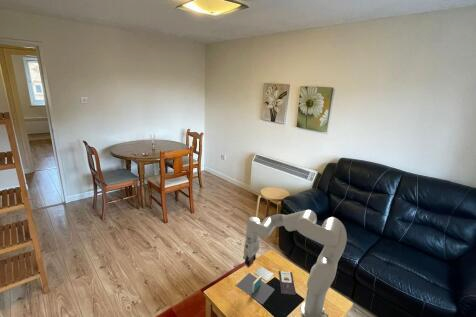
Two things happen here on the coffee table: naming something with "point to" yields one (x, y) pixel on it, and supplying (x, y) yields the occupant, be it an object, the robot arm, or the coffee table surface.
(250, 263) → the flat brown wooden slab
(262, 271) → the pad
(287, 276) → the chocolate bar
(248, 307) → the coffee table surface
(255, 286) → the tile
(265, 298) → the mat
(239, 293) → the coffee table surface
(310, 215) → the robot arm
